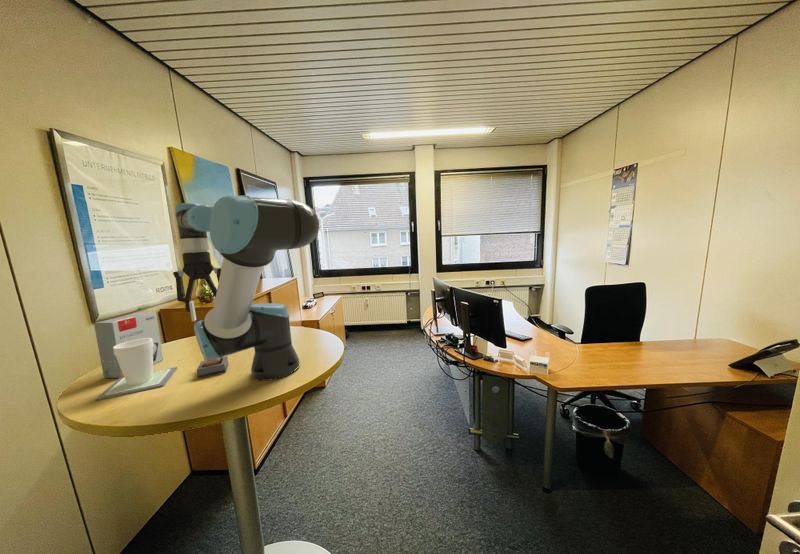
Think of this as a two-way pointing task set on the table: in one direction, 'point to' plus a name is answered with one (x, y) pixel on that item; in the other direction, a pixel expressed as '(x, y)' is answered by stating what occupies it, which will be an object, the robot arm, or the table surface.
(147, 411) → the table surface
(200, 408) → the table surface
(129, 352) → the foam cup
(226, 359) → the button housing
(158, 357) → the hard drive box
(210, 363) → the button
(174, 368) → the picture board
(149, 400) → the table surface
